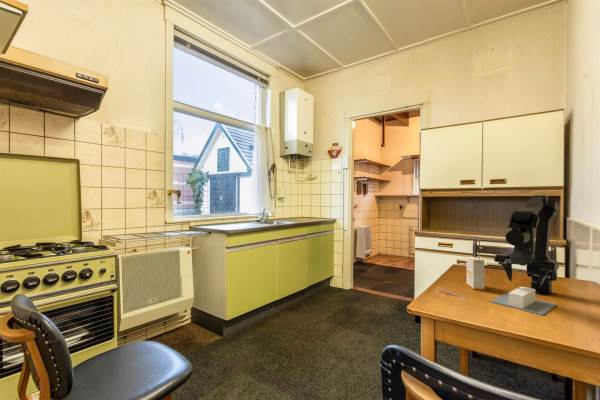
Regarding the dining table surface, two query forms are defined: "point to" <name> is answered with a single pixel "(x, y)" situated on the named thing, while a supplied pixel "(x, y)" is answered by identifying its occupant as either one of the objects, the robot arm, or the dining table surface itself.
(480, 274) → the supplement box
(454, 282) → the dining table surface
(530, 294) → the block
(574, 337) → the dining table surface
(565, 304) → the dining table surface
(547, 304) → the mat
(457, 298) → the key chain
